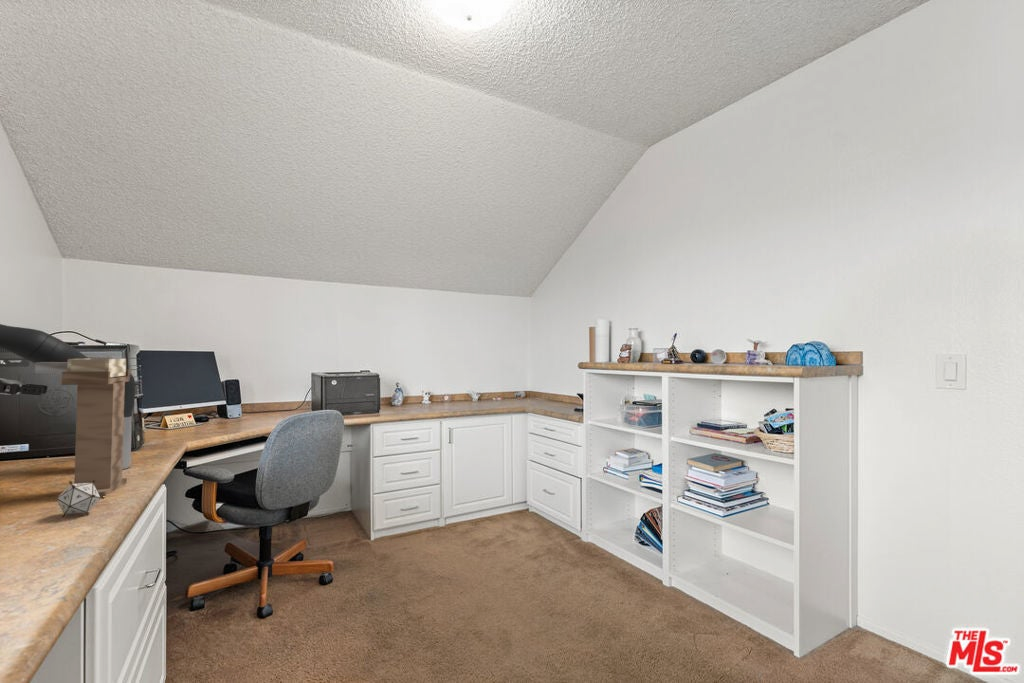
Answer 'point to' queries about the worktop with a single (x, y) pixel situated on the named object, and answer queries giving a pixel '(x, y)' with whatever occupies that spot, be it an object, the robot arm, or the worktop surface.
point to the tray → (83, 366)
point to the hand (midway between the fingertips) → (44, 390)
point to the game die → (78, 498)
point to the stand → (99, 428)
